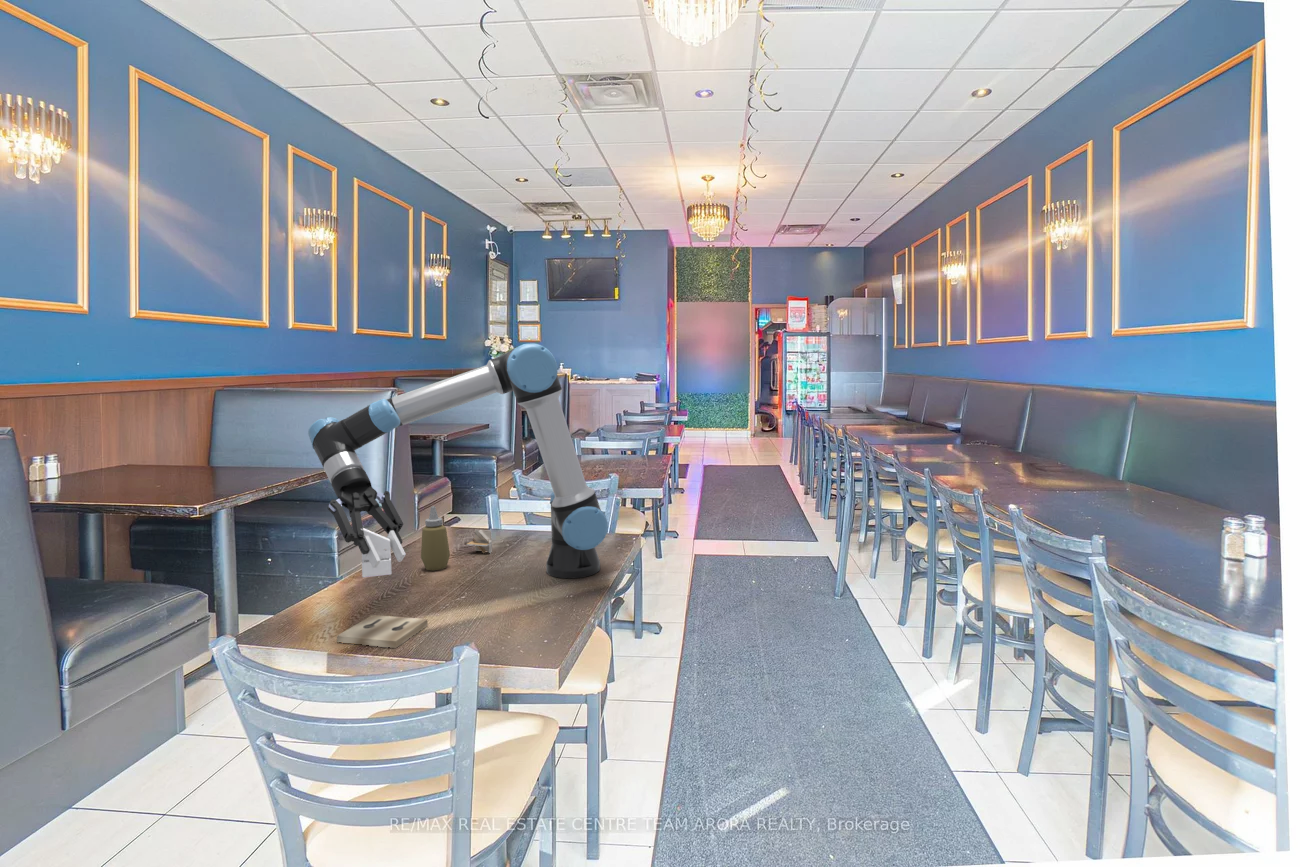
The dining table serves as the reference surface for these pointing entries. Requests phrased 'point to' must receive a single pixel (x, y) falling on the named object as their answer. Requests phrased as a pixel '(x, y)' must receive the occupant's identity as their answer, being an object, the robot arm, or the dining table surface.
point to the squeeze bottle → (434, 543)
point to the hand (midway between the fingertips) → (389, 561)
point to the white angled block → (384, 555)
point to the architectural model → (482, 541)
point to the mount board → (382, 631)
